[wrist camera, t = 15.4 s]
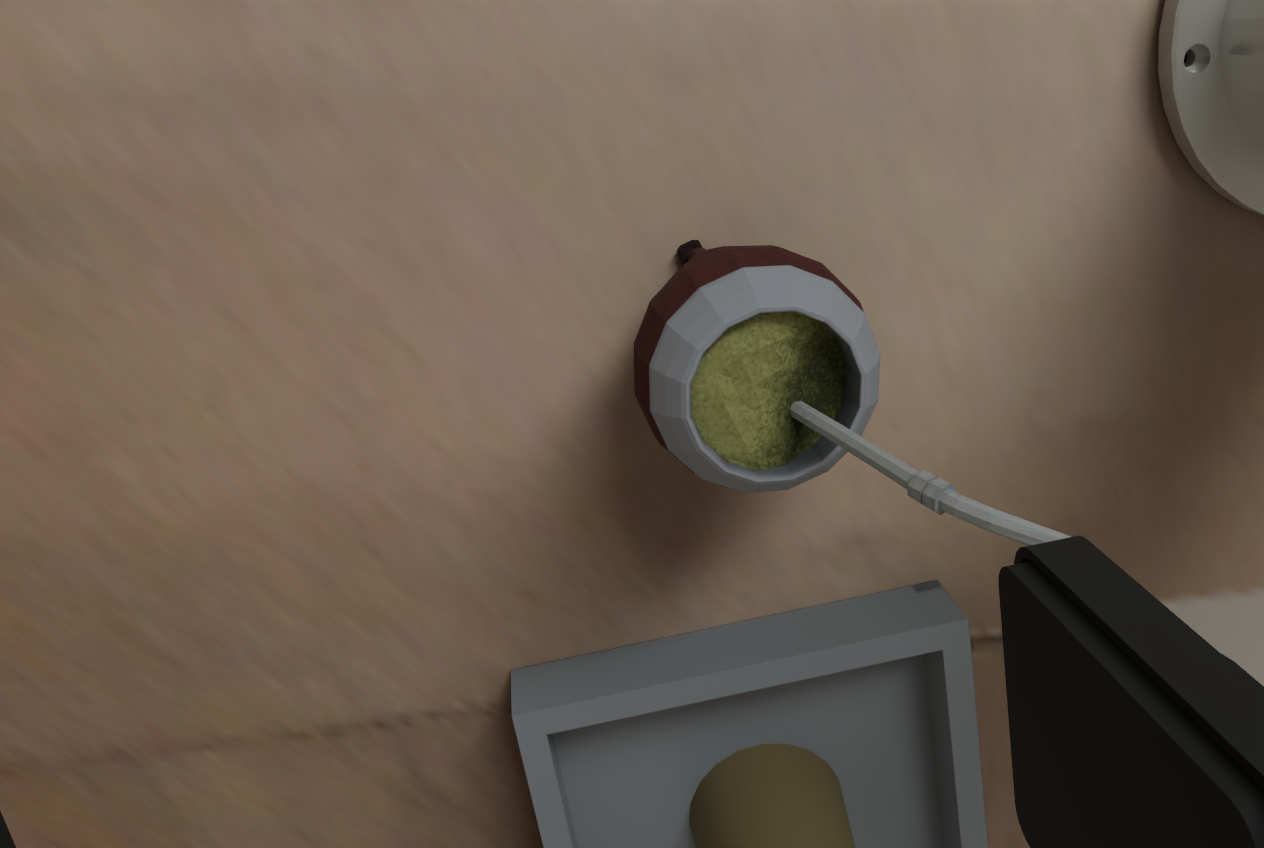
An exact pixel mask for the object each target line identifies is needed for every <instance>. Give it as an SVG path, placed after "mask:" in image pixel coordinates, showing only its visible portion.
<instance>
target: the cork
mask: <svg viewBox="0 0 1264 848" xmlns="http://www.w3.org/2000/svg"><path fill="white" fill-rule="evenodd" d="M689 825H690V828H691V832H692V835H693V838H694V841H695V844H696V846H697V848H855V843H854V839H853V835H852V831H851V827H850V823H849V819H848V815H847V811H846V807H845V803H844V799H843V795H842V790H841V786H840V782H839V779H838V777H837V776H836V774H835V773H834V772H833V770H832V769H831V767H830V766H829V765H828V763H827V762H826V761H825V760H823V759H822V758H820V757H819V756H817V755H816V754H814V753H813V752H811V751H810V750H808V749H804V748H800V747H797V746H793V745H789V744H760V745H756V746H753V747H750V748H746V749H743V750H740V751H737V752H735V753H733V754H732V755H730V756H729V757H727V758H725V759H724V760H722V761H721V762H719V763H717V764H716V765H715V766H714V767H713V768H712V769H711V770H710V771H709V773H708V774H707V775H706V776H705V777H704V778H703V779H702V780H701V781H700V783H699V785H698V787H697V790H696V792H695V794H694V796H693V798H692V801H691V805H690V818H689Z"/></svg>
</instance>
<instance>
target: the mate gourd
mask: <svg viewBox="0 0 1264 848" xmlns="http://www.w3.org/2000/svg"><path fill="white" fill-rule="evenodd" d="M677 251H678V254H679V257H680V260H681V263H682V265H683V266H682V267H681V268H680V269H678V271H677V272H676V273H675V274H674V275H673V276H672V278H671V279H670V280H669V281H668V282H667V284H666V285H665V286H664V287H663V288H662V289H661V290H660V291H659V292H658V293H657V294H656V295H655V297H654V298H653V299H652V300H651V301H650V303H649V306H648V309H647V311H646V314H645V316H644V319H643V321H642V324H641V327H640V329H639V332H638V334H637V337H636V339H635V342H634V380H635V396H636V398H637V400H638V402H639V404H640V406H641V409H642V411H643V413H644V415H645V417H646V419H647V421H648V423H649V425H650V428H651V430H652V432H653V434H654V436H655V438H656V439H657V440H658V442H659V443H660V444H661V445H662V446H663V447H664V448H665V449H667V450H668V451H669V452H670V453H671V454H672V455H673V456H675V457H676V458H677V459H678V460H679V461H680V462H681V463H683V464H684V465H685V466H686V467H687V468H688V469H690V470H691V471H692V472H693V473H695V474H696V475H697V476H698V477H700V478H701V479H703V480H706V481H709V482H712V483H715V484H718V485H721V486H725V487H728V488H731V489H734V490H737V491H740V492H743V493H745V492H760V491H775V490H788V489H790V488H792V487H794V486H796V485H799V484H801V483H803V482H805V481H807V480H810V479H812V478H814V477H816V476H818V475H821V474H823V473H825V472H827V471H829V470H830V469H831V468H832V467H833V466H834V465H835V464H836V463H837V462H838V461H839V460H840V459H841V458H842V457H843V456H844V455H845V454H846V453H847V452H850V453H851V454H853V455H854V456H856V457H858V458H859V459H861V460H862V461H864V462H865V463H867V464H869V465H870V466H872V467H873V468H875V469H876V470H878V471H880V472H881V473H883V474H884V475H886V476H887V477H889V478H890V479H892V480H893V481H895V482H897V483H898V484H900V485H901V486H903V487H904V488H906V489H907V490H908V496H910V497H911V498H913V499H915V500H916V501H918V502H920V503H921V504H923V505H925V506H926V507H928V508H930V509H931V510H933V511H935V512H937V513H939V514H940V515H941V514H943V513H944V512H947V513H949V514H951V515H953V516H955V517H957V518H960V519H962V520H964V521H967V522H969V523H971V524H974V525H976V526H978V527H981V528H983V529H985V530H988V531H990V532H993V533H996V534H999V535H1001V536H1004V537H1007V538H1009V539H1012V540H1015V541H1018V542H1020V543H1023V544H1026V545H1029V546H1031V545H1035V544H1040V543H1045V542H1050V541H1054V540H1059V539H1064V538H1069V537H1071V536H1069V535H1066V534H1063V533H1060V532H1058V531H1055V530H1052V529H1049V528H1046V527H1044V526H1041V525H1038V524H1035V523H1033V522H1030V521H1027V520H1024V519H1022V518H1019V517H1016V516H1013V515H1010V514H1008V513H1005V512H1002V511H999V510H997V509H994V508H992V507H989V506H987V505H985V504H982V503H980V502H977V501H975V500H972V499H970V498H968V497H965V496H963V495H961V494H959V493H957V492H956V487H955V486H953V485H952V484H950V483H948V482H946V481H945V480H943V479H941V478H938V477H937V476H935V475H933V474H932V473H930V472H928V471H926V470H922V471H917V470H915V469H914V468H912V467H911V466H909V465H907V464H906V463H904V462H902V461H901V460H899V459H897V458H896V457H894V456H892V455H891V454H889V453H888V452H886V451H884V450H883V449H881V448H879V447H878V446H876V445H874V444H873V443H871V442H869V441H868V440H866V439H864V438H863V437H861V436H862V434H863V431H864V429H865V427H866V425H867V423H868V420H869V418H870V416H871V414H872V412H873V410H874V407H875V405H876V403H877V401H878V392H879V369H880V352H879V350H878V347H877V344H876V342H875V339H874V337H873V334H872V331H871V329H870V326H869V323H868V321H867V318H866V316H865V313H864V311H863V309H862V306H861V303H860V302H859V300H858V299H857V298H856V297H855V296H854V295H853V294H852V293H851V292H850V291H849V290H848V289H847V288H846V287H845V286H844V285H843V284H842V283H841V282H840V281H839V280H838V279H837V278H836V277H835V276H834V275H833V274H832V273H831V272H830V271H829V270H828V269H827V268H826V267H825V266H824V265H823V264H822V263H820V262H817V261H815V260H812V259H809V258H807V257H804V256H801V255H799V254H796V253H793V252H791V251H788V250H785V249H783V248H780V247H777V246H772V245H769V246H724V247H718V248H713V249H708V250H706V249H703V248H702V246H701V244H700V242H699V241H698V240H691V241H689V242H687V243H685V244H683V245H680V247H679V248H678V249H677Z"/></svg>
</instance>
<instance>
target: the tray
mask: <svg viewBox="0 0 1264 848" xmlns="http://www.w3.org/2000/svg"><path fill="white" fill-rule="evenodd" d="M511 707H512V719H513V723H514V728H515V732H516V736H517V740H518V744H519V748H520V752H521V756H522V761H523V765H524V769H525V773H526V777H527V781H528V785H529V789H530V793H531V798H532V802H533V806H534V810H535V814H536V818H537V822H538V826H539V830H540V835H541V839H542V843H543V847H544V848H697V846H696V844H695V841H694V838H693V835H692V832H691V828H690V825H689V818H690V805H691V801H692V798H693V796H694V794H695V792H696V790H697V787H698V785H699V783H700V781H701V780H702V779H703V778H704V777H705V776H706V775H707V774H708V773H709V771H710V770H711V769H712V768H713V767H714V766H715V765H716V764H717V763H719V762H721V761H722V760H724V759H725V758H727V757H729V756H730V755H732V754H733V753H735V752H737V751H740V750H743V749H746V748H750V747H753V746H756V745H760V744H789V745H793V746H797V747H800V748H804V749H808V750H810V751H811V752H813V753H814V754H816V755H817V756H819V757H820V758H822V759H823V760H825V761H826V762H827V763H828V765H829V766H830V767H831V769H832V770H833V772H834V773H835V774H836V776H837V777H838V779H839V782H840V786H841V790H842V795H843V799H844V803H845V807H846V811H847V815H848V819H849V823H850V827H851V831H852V835H853V839H854V843H855V848H988V841H987V829H986V818H985V806H984V794H983V783H982V771H981V759H980V748H979V736H978V724H977V713H976V701H975V690H974V678H973V666H972V655H971V643H970V631H969V620H968V618H967V616H966V615H965V614H964V613H963V611H962V610H961V609H960V608H959V606H958V605H957V604H956V603H955V602H954V600H953V599H952V598H951V597H950V595H949V594H948V593H947V592H946V590H945V589H944V588H943V587H942V585H941V584H940V583H939V582H938V580H936V581H931V582H926V583H922V584H917V585H912V586H907V587H903V588H898V589H893V590H888V591H884V592H879V593H874V594H870V595H865V596H860V597H855V598H851V599H846V600H841V601H836V602H832V603H827V604H822V605H818V606H813V607H808V608H803V609H799V610H794V611H789V612H784V613H780V614H775V615H770V616H765V617H761V618H756V619H751V620H747V621H742V622H737V623H732V624H728V625H723V626H718V627H713V628H709V629H704V630H699V631H694V632H690V633H685V634H680V635H676V636H671V637H666V638H661V639H657V640H652V641H647V642H642V643H638V644H633V645H628V646H624V647H619V648H614V649H609V650H605V651H600V652H595V653H590V654H586V655H581V656H576V657H571V658H567V659H562V660H557V661H553V662H548V663H543V664H538V665H534V666H529V667H524V668H519V669H515V670H511Z"/></svg>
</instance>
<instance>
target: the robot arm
mask: <svg viewBox="0 0 1264 848" xmlns="http://www.w3.org/2000/svg"><path fill="white" fill-rule="evenodd" d="M1186 52H1187V55H1188V57H1187V61H1186V62H1185V64H1184V57H1185V53H1186ZM1158 75H1159V82H1160V88H1161V94H1162V101H1163V107H1164V111H1165V113H1166V116H1167V119H1168V121H1169V124H1170V127H1171V130H1172V132H1173V135H1174V138H1175V140H1176V142H1177V144H1178V146H1179V147H1180V149H1181V150H1182V152H1183V153H1184V155H1185V157H1186V158H1187V160H1188V161H1189V163H1190V165H1191V166H1192V168H1193V169H1194V170H1195V171H1196V172H1197V173H1198V174H1199V175H1200V176H1201V177H1202V178H1203V179H1204V180H1205V181H1206V182H1207V183H1208V184H1209V185H1210V186H1211V187H1212V188H1213V189H1214V190H1215V191H1216V192H1217V193H1219V194H1220V195H1222V196H1224V197H1225V198H1227V199H1228V200H1230V201H1232V202H1233V203H1235V204H1236V205H1238V206H1240V207H1241V208H1243V209H1246V210H1249V211H1252V212H1255V213H1258V214H1261V215H1264V0H1165V4H1164V9H1163V15H1162V20H1161V25H1160V30H1159V49H1158ZM999 595H1000V608H1001V622H1002V635H1003V648H1004V662H1005V675H1006V688H1007V701H1008V715H1009V728H1010V741H1011V755H1012V768H1013V781H1014V795H1015V805H1016V811H1017V816H1018V820H1019V823H1020V826H1021V829H1022V832H1023V834H1024V836H1025V839H1026V841H1027V842H1028V844H1029V846H1030V848H1264V687H1263V686H1262V685H1261V684H1260V683H1259V682H1258V681H1256V680H1255V679H1254V678H1253V677H1252V676H1250V675H1249V674H1248V673H1247V672H1246V671H1245V670H1243V669H1242V668H1241V667H1240V666H1239V665H1238V664H1236V663H1235V662H1234V661H1232V660H1231V659H1229V658H1227V657H1225V656H1224V655H1223V654H1221V653H1219V652H1218V651H1217V650H1216V649H1215V648H1213V647H1212V646H1211V645H1210V644H1209V643H1208V642H1206V641H1205V640H1204V639H1203V638H1202V637H1201V636H1199V635H1198V634H1197V633H1196V632H1195V631H1194V630H1192V629H1191V628H1190V627H1189V626H1188V625H1187V624H1185V623H1184V622H1183V621H1182V620H1181V619H1180V618H1178V617H1177V616H1176V615H1175V614H1174V613H1172V612H1171V611H1170V610H1169V609H1168V608H1167V607H1166V606H1164V605H1163V604H1162V603H1161V602H1160V601H1159V600H1157V599H1156V598H1155V597H1154V596H1153V595H1151V594H1150V593H1149V592H1148V591H1147V590H1146V589H1144V588H1143V587H1142V586H1141V585H1140V584H1139V583H1137V582H1136V581H1135V580H1134V579H1133V578H1132V577H1130V576H1129V575H1128V574H1127V573H1126V572H1125V571H1123V570H1122V569H1121V568H1120V567H1119V566H1118V565H1116V564H1115V563H1114V562H1113V561H1112V560H1111V559H1109V558H1108V557H1107V556H1106V555H1105V554H1104V553H1102V552H1101V551H1100V550H1099V549H1098V548H1097V547H1095V546H1094V545H1093V544H1092V543H1091V542H1090V541H1088V540H1087V539H1085V538H1084V537H1082V536H1073V537H1069V538H1064V539H1059V540H1054V541H1050V542H1045V543H1040V544H1035V545H1031V546H1026V547H1021V548H1019V550H1018V551H1017V552H1016V556H1015V560H1014V565H1011V566H1006V567H1002V569H1001V570H1000V573H999ZM0 848H16V846H15V844H14V842H13V839H12V837H11V835H10V832H9V830H8V828H7V825H6V823H5V821H4V818H3V816H2V814H1V811H0Z"/></svg>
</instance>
